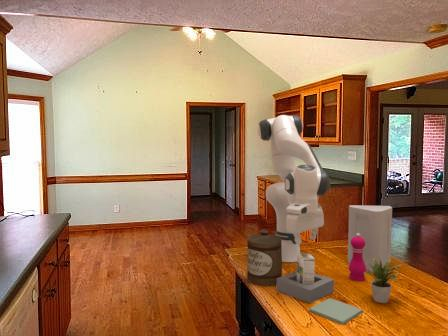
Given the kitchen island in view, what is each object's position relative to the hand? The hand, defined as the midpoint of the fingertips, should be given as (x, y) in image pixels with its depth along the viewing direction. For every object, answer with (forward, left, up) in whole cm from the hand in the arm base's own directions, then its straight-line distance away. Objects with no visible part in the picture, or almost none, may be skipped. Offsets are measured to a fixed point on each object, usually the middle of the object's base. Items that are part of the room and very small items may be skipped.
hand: (306, 241), depth 148 cm
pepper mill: (+7, +28, -20) cm, 35 cm away
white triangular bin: (+4, +47, -20) cm, 52 cm away
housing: (0, 0, -20) cm, 20 cm away
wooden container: (-19, -2, -21) cm, 28 cm away
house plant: (+25, +13, -20) cm, 35 cm away
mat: (+18, -7, -20) cm, 28 cm away
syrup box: (0, 0, -20) cm, 20 cm away
